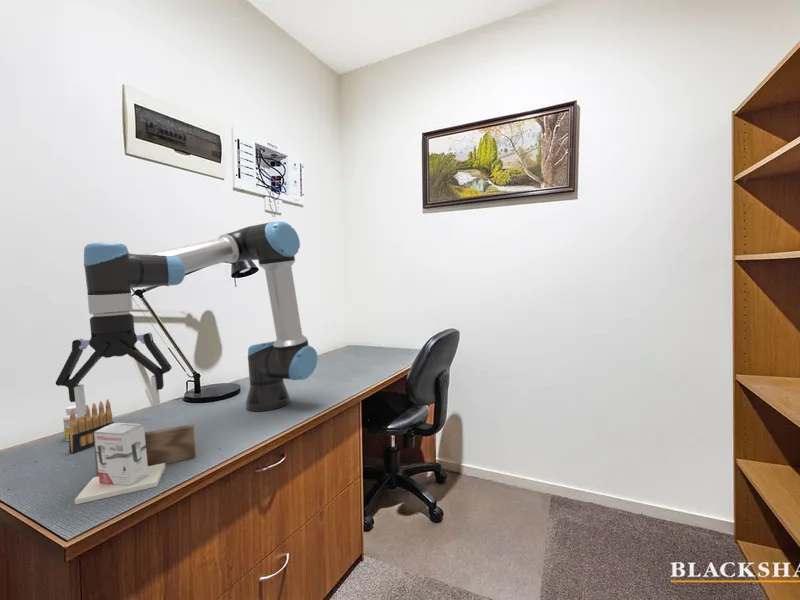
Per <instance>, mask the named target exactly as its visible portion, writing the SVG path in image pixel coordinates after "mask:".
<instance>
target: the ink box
mask: <svg viewBox="0 0 800 600" xmlns="http://www.w3.org/2000/svg"><path fill="white" fill-rule="evenodd" d="M145 432H146V431H145V426H144V424H143V423H134V422H133V423H131V422H130V423H129V422H114V423H113V424H111V425H108V426H106V427H103V428H101V429H99V430H97V431H95V432H94V436H95V445H96V454H97V464H98V473H99V482H100V483H106V484H118V485H131V484H133V483H135V482H137V481H138V480H140V479H142V478H144V477H145V476H147V475H149V474H148V463H147V452H146V442H145Z"/></svg>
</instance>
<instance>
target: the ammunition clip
mask: <svg viewBox="0 0 800 600" xmlns="http://www.w3.org/2000/svg"><path fill="white" fill-rule="evenodd" d="M113 423H115V422H114V421H113V412H112V408H111V402H110V400H109V399H108V398H107V399H106V401H105V407H104V403H103V401H101V400H100V401H99V404H98V409H97V404H96V403H95V402H94V403H92V406H91V409H90V407H89V405H88V404H86V414H85V420H84V418H83V417H81V418H77V422H76V416H75V412H74V410H73V409H71V412H70V425H69V427H70V434H69V441H68V447H69V454H73V455H75V454H77V453H79V452H83V451H86V450H87V449H90V448H94V443H95V436H94V432H95V431H97V430H99V429H101V428H103V427H106V426H108V425H111V424H113Z"/></svg>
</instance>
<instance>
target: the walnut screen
mask: <svg viewBox="0 0 800 600" xmlns="http://www.w3.org/2000/svg"><path fill="white" fill-rule="evenodd" d="M194 425H195V424H187V425H181V426H176V427H175V426H174V427H169V428H164V429H158V430H157V429H156V430H152V431H145V442H146V452H147V463H148V466H152V465H157V464H162V463H165V464H171V463H175V462H181V461H186V460H191V459H195V458H196V455H197V454H196V441H195V438H196V437H195V426H194ZM93 448H94V460H95V461H94V462H95V472H96V473H95V474H96V475H95V476H96V477H98V476H99V473H98V464H97V454H96V445H95V443H94V446H93Z"/></svg>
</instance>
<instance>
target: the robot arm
mask: <svg viewBox="0 0 800 600" xmlns="http://www.w3.org/2000/svg"><path fill="white" fill-rule="evenodd" d="M300 246H301V243H300V237H299V234H298V233H297V231H296V229H295V228H294V227H292V225H291V224H289V223H287V222H286V221H269V222H266V223H260V224H255V225H249V226H246V227H243V228H240V229H238V230H235V231H231V232H228V233H225V234H221V235H220V236H218V238H217V239H211V240H208V241H207V240H206V241H203V242H202V241H201V242H197V243H193V244H192V243H191V244H189V245H183V246H179V247H174V248H170V249H166V250H160V251H157V252H152V253H146V254H136V253H129V250H128V247H127V245H125V244H124V243H119V242H91V243H87V244H86V245H85V246H84V248H83V267H84V274H85V282H86V290H87V305H88V313H89V315H92V316H91V317H90V318H89V326H90V335H91V336H90V338H89V339H83V338H77V339H74V340H73V341H72V342H71V351H70V353H69V356H68V358H67V360H66V361H65V364H64V365H63V367H62V369H61V371H60V373H59V374H58V377H57V379H56V381H55V385H56V386H58V387H60V386H61V387H67V389H68V400H69V401H70V403H75V405H76V413H77V418H81V417H83V416H84V415H85V414H86V405H87V404H86V396H85V386H84V385H85V383H81V384H80V382H81V381H82V380H83V379H84V378H85V376H87V374H88V373H89V372H90V371H91V370H92V368H94V366H95V365H96V364H97V363H98V361H99V360H100V359H102V357H103V358H105V359H107V358H109V359H110V358H113V357H118V358H119V357H124V356H126V355H128V357H130V358H133V359H134V360H135V361H137V363H139V364H140V365H141V366H143V367H144V368H145V369H147V370H148V371H149V372H150V373H151V374H153V375H152V376H151V377H150V379H151V380H150V381H151V392H152V404H153V405H152V406H153V407H155V406H158V405H159V404H160V403H161V400H160V390H163V388H164V386H165V385H164V374H166V373H168V372H170V371H171V370H172V368H173V366H172V365H171V364H170V362H169V361H168V360H167V358H166V356H165V355H164V354H163V353H162V351H161V350H160V349H159V347H158V345H157V344H156V343H155V342H154V341H155V340H154V337H153V333H151V332H146V333H144V334H139V335H138V334H136V331H135V322H134V319H135V318H134V315H133V314H132V313H131V312H132V311H133V298H132V289H134V288H135V289H137V288H149V287H151V288H152V287H163V286H165V287H170V286H178V285H181V283H183V281H184V279H185V275H186V273H189V272H194V271H197V270H199V269H201V270H202V269H204V268H207V267H211V266H216V265H219V264H222V263H225V262H226V263H228V264H234V263H236V262H243V261H244V262H245V261H258V266H259V267H260V268H262V269H263V270H264V272H265V277H266V284H267V291H268V295H269V301H270V308H271V313H272V319H273V325H274V332H275V337H276V339H275V340H273V341H266V342H262V343H257V344H252V345H250V346H249V347H248V348H247V354H248V355H247V363H248V376H249V389H248V394H247V395H246V396H247V397H246V401H245V408H246V410H247V411H251V412H267V411H272V410H276V409H279V408H284V407H285V406H288V405H289V404H290V403H291V401H290V394H289V392H288V389H287V387H286V384H285V382H284V381H285V380H292V381H298V380H299V381H303V380H306V379H308V378H309V377H311V375H312V374H313V373H314V371H315V369H316V368H317V365H318V352H317V351H316V349H315V348H314V347H313V346H311V345H309V339H308V338H307V337H306V336H305V335H303V331H302V326H301V318H300V313H299V311H300V310H299V305H298V300H297V295H296V288H295V282H294V281H295V280H294V275H293V270H292V269H293V268H292V266H293V265H294V264H295V262H296V258H295V256H296V255H297V254H298V253H299V250H300ZM138 341H139V342H140V343H141V344H144V345H145V346H146V348H147V350H148V351H149V352H150V354H151V355H152V357H153V358H154V359H155V361H156V362H157V363H158V365H159V366H160V367H159V366H158V365H157V363H155V362H153V361H152V360H151V359H150V358H149V357H147V356H146V355H145V354H143V353H142V352H141V351H140V350H139V349H138V348H137V347H136V346H135V345H136V343H137V342H138ZM88 346H90V348H92V349H93V350H94V352H93V353H92V354H91V355H90V356H89V358H88V360H86V361H85V363H84V364H83V365H82V366H81V367H80V369H78V370H77V372H76V373H75V374H74V375H73V377H71V376H72V374H73V372H74V370H75V368H76V366H77V364H78V361H80V358H81V357H82V354H83V352H84V350H86V349H87V347H88Z"/></svg>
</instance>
